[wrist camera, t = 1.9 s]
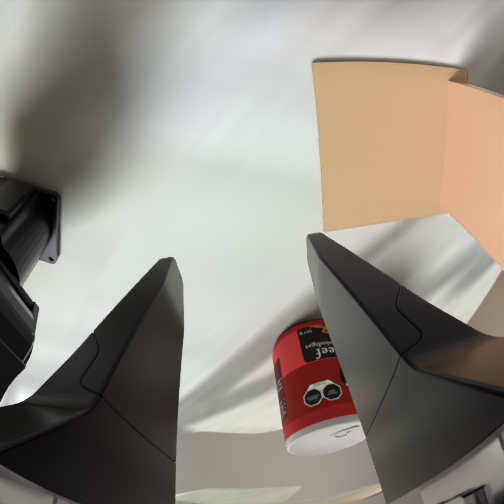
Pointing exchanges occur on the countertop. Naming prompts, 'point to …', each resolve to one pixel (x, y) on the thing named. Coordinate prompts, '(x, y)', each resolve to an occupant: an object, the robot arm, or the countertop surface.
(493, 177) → the tile
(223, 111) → the countertop surface
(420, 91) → the mat
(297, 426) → the canned food
